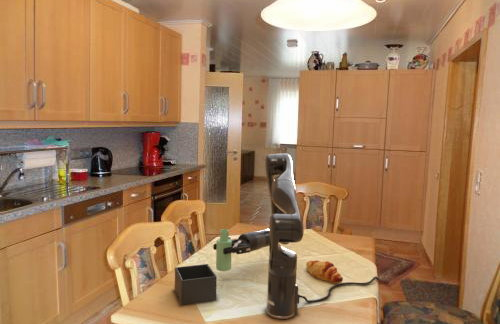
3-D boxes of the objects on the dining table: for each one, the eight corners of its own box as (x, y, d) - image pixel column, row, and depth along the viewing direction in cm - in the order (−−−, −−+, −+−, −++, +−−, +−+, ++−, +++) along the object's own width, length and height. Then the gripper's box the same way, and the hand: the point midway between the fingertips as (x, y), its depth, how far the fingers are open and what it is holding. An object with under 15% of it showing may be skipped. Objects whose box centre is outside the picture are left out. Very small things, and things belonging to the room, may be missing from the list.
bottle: (228, 264, 154) (229, 227, 152) (232, 270, 149) (233, 231, 147) (214, 266, 152) (215, 228, 150) (218, 271, 147) (219, 232, 145)
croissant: (301, 275, 167) (295, 261, 165) (317, 261, 172) (311, 247, 169) (336, 294, 149) (330, 278, 147) (353, 278, 154) (347, 262, 151)
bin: (207, 285, 147) (207, 263, 146) (216, 300, 135) (216, 276, 134) (174, 289, 142) (175, 267, 141) (181, 305, 131) (181, 280, 130)
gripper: (241, 228, 164) (208, 235, 153) (264, 236, 153) (230, 244, 142) (240, 245, 164) (207, 253, 153) (263, 255, 154) (230, 264, 143)
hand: (218, 249), depth 148 cm, fingers closed on bottle, 5 cm apart
